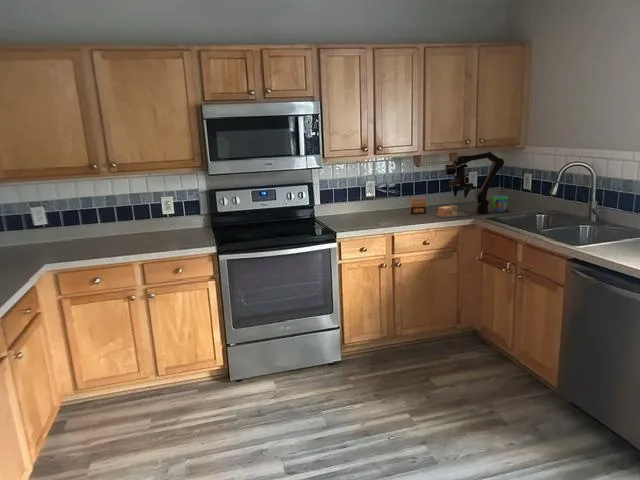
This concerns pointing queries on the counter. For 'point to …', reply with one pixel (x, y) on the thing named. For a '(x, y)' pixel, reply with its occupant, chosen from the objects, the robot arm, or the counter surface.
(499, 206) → the snack cup
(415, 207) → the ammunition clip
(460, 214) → the rubber mat
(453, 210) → the birch block
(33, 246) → the counter surface
